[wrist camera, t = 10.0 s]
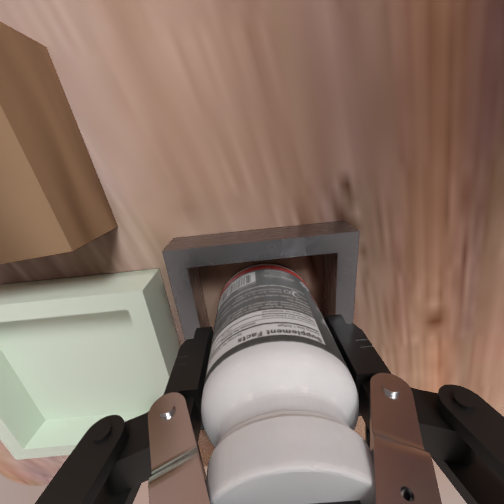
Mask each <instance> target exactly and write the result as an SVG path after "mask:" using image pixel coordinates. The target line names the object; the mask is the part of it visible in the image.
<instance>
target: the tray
mask: <svg viewBox="0 0 504 504" xmlns="http://www.w3.org/2000/svg"><path fill="white" fill-rule="evenodd" d="M179 348H180V344H179V340H178V336H177V332H176V329H175V325H174V321H173V318H172V314H171V310H170V306H169V303H168V299H167V295H166V292H165V288H164V284H163V281H162V277H161V273H160V269H150V270H140V271H130V272H120V273H110V274H100V275H90V276H80V277H71V278H61V279H51V280H41V281H31V282H21V283H11V284H1V285H0V440H1V441H2V443H3V444H4V445H5V446H6V448H7V449H8V450H9V452H10V453H11V454H12V456H13V457H14V458H15V459H16V460H18V459H29V458H40V457H51V456H62V455H70V454H71V453H72V451H73V450H74V448H75V447H76V446H77V444H78V443H79V441H80V440H81V439H82V437H83V436H84V434H85V433H86V432H87V431H88V429H89V428H90V427H91V426H92V425H93V424H95V423H96V422H97V421H99V420H100V419H102V418H104V417H106V416H109V415H119V416H121V417H122V418H123V420H124V422H125V421H128V420H130V419H133V418H135V417H138V416H140V415H143V414H145V413H147V412H148V411H149V410H150V408H151V406H152V405H153V403H154V402H155V401H156V400H157V399H158V398H160V397H161V396H163V394H164V392H165V389H166V386H167V383H168V380H169V377H170V374H171V371H172V369H173V366H174V363H175V360H176V358H177V354H178V351H179Z"/></svg>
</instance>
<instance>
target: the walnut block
mask: <svg viewBox="0 0 504 504" xmlns="http://www.w3.org/2000/svg"><path fill="white" fill-rule="evenodd" d="M116 227H118V225H117V223H116V220H115V218H114V215H113V213H112V210H111V208H110V205H109V203H108V200H107V198H106V195H105V193H104V190H103V188H102V185H101V183H100V180H99V178H98V175H97V173H96V170H95V168H94V165H93V163H92V160H91V158H90V155H89V153H88V150H87V148H86V145H85V143H84V140H83V138H82V135H81V133H80V130H79V128H78V125H77V123H76V120H75V118H74V115H73V113H72V110H71V108H70V105H69V103H68V100H67V98H66V95H65V93H64V90H63V88H62V85H61V83H60V80H59V78H58V75H57V73H56V70H55V68H54V65H53V63H52V60H51V58H50V55H49V53H48V50H47V48H46V47H45V46H43V45H42V44H40V43H38V42H36V41H34V40H33V39H31V38H29V37H27V36H25V35H23V34H22V33H20V32H18V31H16V30H14V29H13V28H11V27H9V26H7V25H5V24H3V23H2V22H0V264H5V263H10V262H16V261H22V260H27V259H33V258H38V257H44V256H49V255H55V254H60V253H66V252H72V251H74V250H76V249H78V248H80V247H81V246H83V245H85V244H87V243H89V242H90V241H92V240H94V239H96V238H98V237H100V236H101V235H103V234H105V233H107V232H109V231H110V230H112V229H114V228H116Z"/></svg>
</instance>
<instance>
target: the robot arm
mask: <svg viewBox="0 0 504 504" xmlns="http://www.w3.org/2000/svg"><path fill="white" fill-rule="evenodd" d="M325 322H326V324H327V326H328V328H329V330H330V332H331V334H332V336H333V338H334V341H335V343H336V345H337V347H338V349H339V351H340V353H341V355H342V357H343V359H344V361H345V363H346V365H347V367H348V369H349V371H350V373H351V376H352V378H353V380H354V383H355V385H356V389H357V393H358V397H359V415H358V416H362V417H363V419H364V422H365V442H366V443H367V445H368V447H369V449H370V451H371V456H372V463H373V472H374V494H373V498H374V504H442V502H441V498H440V493H439V489H438V484H437V480H436V475H435V470H434V466H433V462H432V458H433V460H434V461H435V462H436V464H437V465H438V466H439V467H440V469H441V470H442V471H443V473H444V474H445V475H446V477H447V478H448V479H449V480H450V482H451V483H452V484H453V486H454V487H455V488H456V490H457V491H458V492H459V493H460V495H461V496H462V497H463V499H464V500H465V501H466V503H467V504H504V417H503V416H502V415H501V414H500V413H498V412H497V411H496V410H495V409H494V408H493V407H491V406H490V405H489V404H488V403H487V402H485V401H484V400H483V399H482V398H481V397H480V396H478V395H477V394H475V393H474V392H472V391H470V390H469V389H466V388H464V387H461V386H457V385H444V386H442V387H441V388H440V389H439V392H438V393H433V392H428V391H423V390H418V389H414V388H411V387H409V385H408V384H407V383H406V382H405V381H404V380H402V379H401V378H399V377H397V376H395V375H393V374H391V372H390V371H389V369H388V368H387V366H386V365H385V364H384V362H383V361H382V359H381V358H380V356H379V355H378V353H377V352H376V350H375V349H374V347H372V344H371V343H370V341H369V340H368V338H367V337H366V335H365V334H364V332H363V331H362V330H361V329H360V328H358V327H357V326H356V325H354V324H347V323H346V322H345V320H344V318H343V317H342V315H341V314H338V315H328V316H325ZM212 338H213V330H212V327H201V328H196V331H195V334H194V338H193V339H186V341H185V342H184V343H183V344H182V345H181V347H180V348H179V351H178V354H177V358H176V360H175V363H174V366H173V369H172V371H171V374H170V377H169V380H168V383H167V386H166V389H165V392H164V394H163V396H161V397H160V398H158V399H157V400H156V401H155V402H154V403H153V405H152V406H151V408H150V410H149V411H148V412H147V413H145V414H143V415H140V416H138V417H135V418H133V419H130V420H128V421H125V422H124V420H123V418H122V417H121V416H119V415H109V416H106V417H104V418H102V419H100V420H99V421H97V422H96V423H95V424H93V425H92V426H91V427H90V428H89V429H88V431H87V432H86V433H85V434H84V436H83V437H82V439H81V440H80V441H79V443H78V444H77V446H76V447H75V448H74V450H73V451H72V453H71V454H70V455H69V457H68V458H67V460H66V461H65V462H64V464H63V465H62V467H61V468H60V469H59V471H58V472H57V473H56V475H55V476H54V478H53V479H52V480H51V482H50V483H49V485H48V486H47V488H46V489H45V490H44V492H43V493H42V494H41V496H40V497H39V499H38V500H37V501H36V503H35V504H132V503H133V501H134V499H135V497H136V494H137V492H138V490H139V488H140V485H141V483H142V482H144V481H147V480H149V481H148V484H149V485H148V488H149V504H211V503H210V499H209V495H208V490H207V485H206V478H207V477H206V473H205V469H204V465H203V461H202V457H201V453H200V449H199V445H198V439H199V433H200V430H204V426H203V422H202V416H201V402H202V394H203V388H204V381H205V376H206V371H207V365H208V360H209V355H210V349H211V344H212ZM431 457H432V458H431ZM313 504H361V503H360V500H356V501H342V502H328V503H313Z"/></svg>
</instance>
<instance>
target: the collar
mask: <svg viewBox="0 0 504 504" xmlns="http://www.w3.org/2000/svg"><path fill="white" fill-rule="evenodd" d="M358 245H359V231H358V230H357V229H355V228H354V227H352V226H351V225H349V224H348V223H346V222H345V221H336V222H327V223H317V224H307V225H297V226H288V227H278V228H268V229H258V230H249V231H239V232H229V233H220V234H210V235H200V236H190V237H181V238H174V239H173V240H172V241H171V242H170V243H169V244H168V245H167V246H166V248H165V249H164V250H163V251H162V252H163V256H164V260H165V264H166V268H167V272H168V276H169V280H170V284H171V287H172V291H173V295H174V299H175V303H176V307H177V311H178V315H179V319H180V322H181V326H182V330H183V334H184V338H185V341H186V339H193V338H194V334H195V331H196V328H201V327H210V325H209V320H208V315H207V310H206V305H205V300H204V296H203V291H202V286H201V281H200V276H199V271H198V267H201V266H211V265H221V264H231V263H241V262H250V261H260V260H270V259H280V258H290V257H300V256H310V255H320V254H325V288H324V320H325V316H328V315H338V314H341V315H342V317H343V318H344V320H345V322H346V323H347V324H353V316H354V302H355V287H356V273H357V259H358Z"/></svg>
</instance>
